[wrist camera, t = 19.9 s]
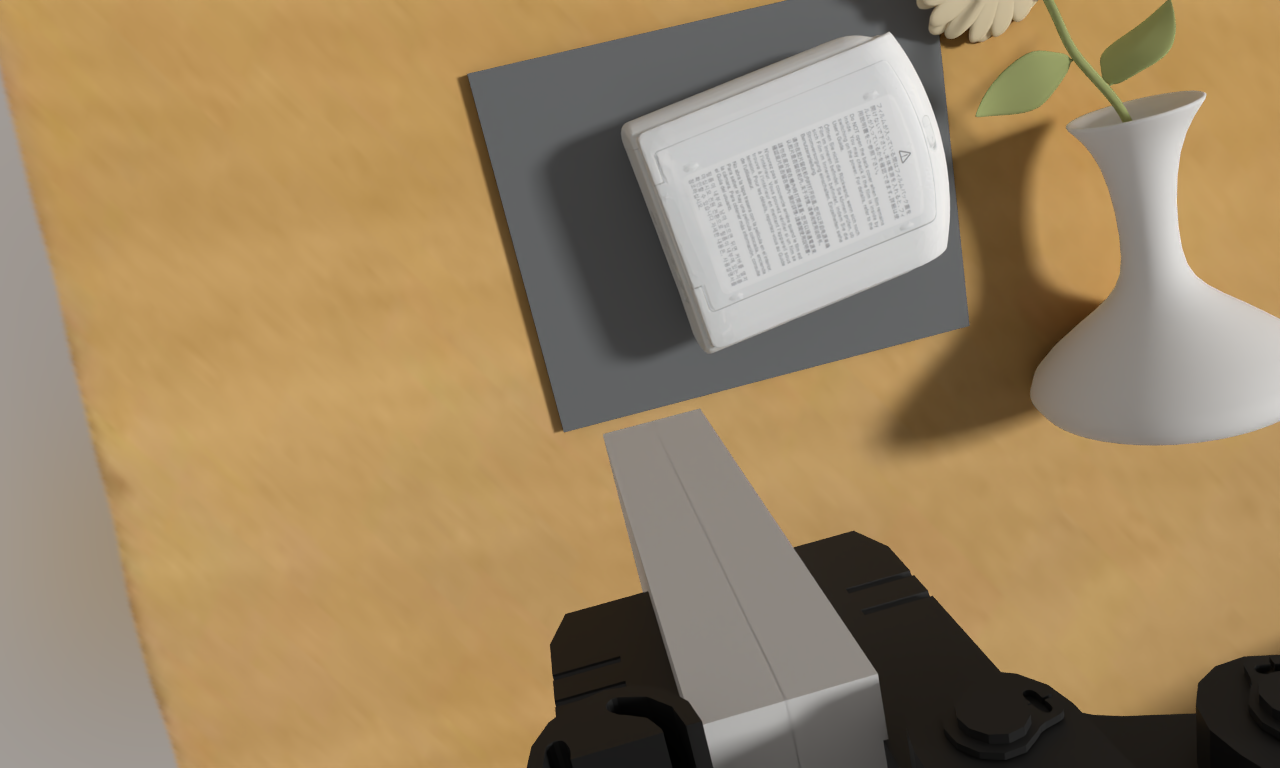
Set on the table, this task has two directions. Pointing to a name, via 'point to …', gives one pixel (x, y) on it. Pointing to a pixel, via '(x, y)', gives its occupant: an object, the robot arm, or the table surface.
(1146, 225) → the flower in vase
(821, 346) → the mat
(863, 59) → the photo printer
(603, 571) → the table surface
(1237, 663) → the robot arm
